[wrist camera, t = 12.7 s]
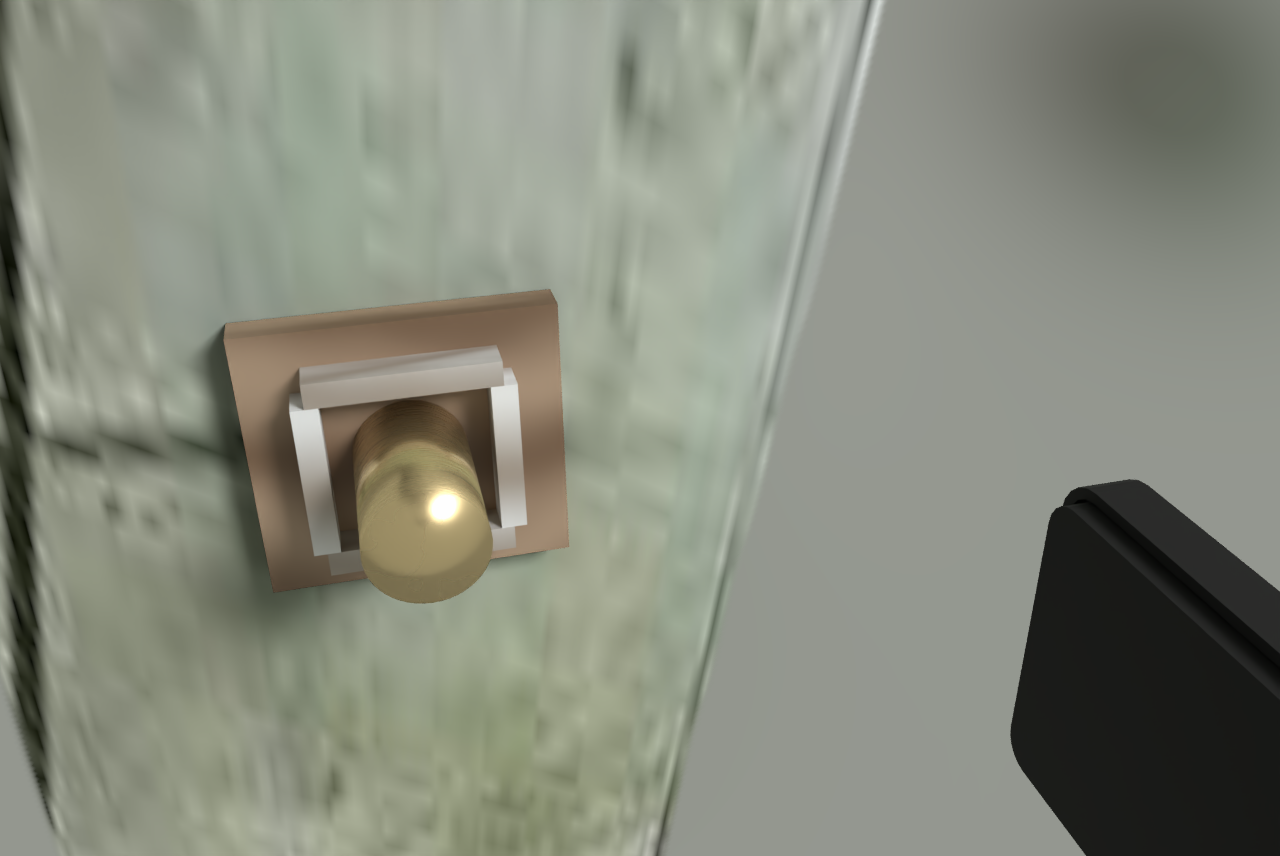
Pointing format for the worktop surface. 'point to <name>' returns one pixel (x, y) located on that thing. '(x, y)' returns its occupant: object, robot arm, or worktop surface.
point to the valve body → (419, 503)
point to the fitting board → (383, 374)
